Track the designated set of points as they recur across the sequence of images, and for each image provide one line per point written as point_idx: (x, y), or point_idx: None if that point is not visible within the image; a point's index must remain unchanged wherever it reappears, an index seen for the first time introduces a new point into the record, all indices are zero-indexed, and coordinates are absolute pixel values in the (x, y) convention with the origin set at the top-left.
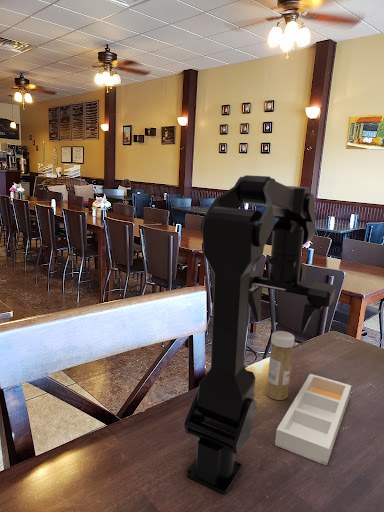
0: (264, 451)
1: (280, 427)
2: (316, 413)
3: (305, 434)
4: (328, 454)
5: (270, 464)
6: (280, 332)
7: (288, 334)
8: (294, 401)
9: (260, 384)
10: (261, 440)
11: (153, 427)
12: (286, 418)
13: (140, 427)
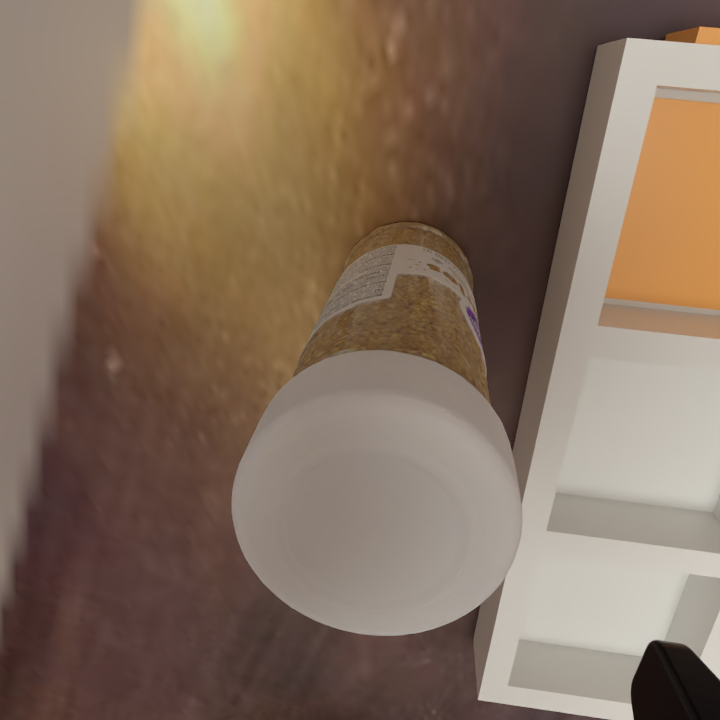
0: (443, 674)
1: (491, 685)
2: (647, 398)
3: (590, 571)
4: None
5: (475, 716)
6: (319, 480)
7: (433, 495)
8: (531, 482)
9: (284, 209)
10: (420, 632)
11: (65, 695)
12: (508, 627)
13: (33, 707)
